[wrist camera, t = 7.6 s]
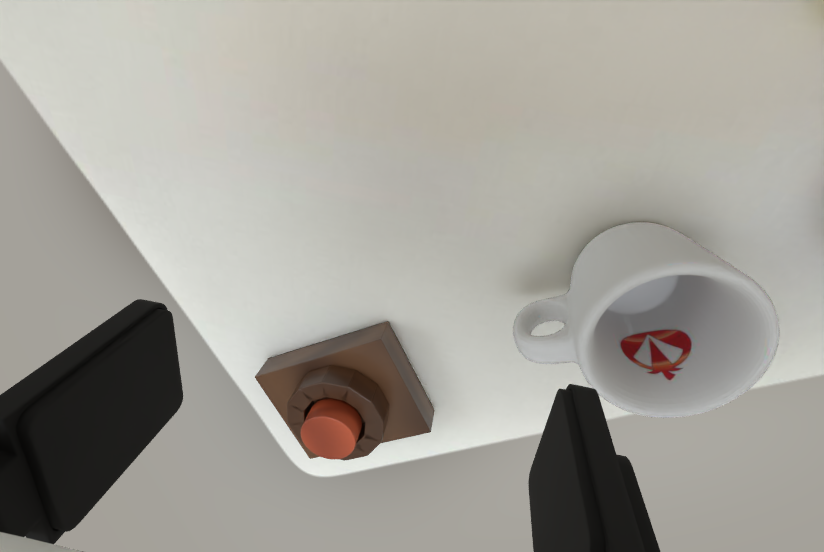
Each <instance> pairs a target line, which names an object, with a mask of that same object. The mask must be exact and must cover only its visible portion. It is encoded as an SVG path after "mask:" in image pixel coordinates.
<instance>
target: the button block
mask: <svg viewBox="0 0 824 552" xmlns="http://www.w3.org/2000/svg"><path fill="white" fill-rule="evenodd" d="M255 378H256V380H257V381H258V383H259V384H260V386H261V387H262V389H263V390H264V392H265V393H266V395H267V396H268V397H269V399H270V400H271V402H272V403H273V405H274V406H275V408H276V409H277V411H278V412H279V414H280V415H281V417H282V418H283V420H284V421H285V423H286V424H287V426H288V427H289V429H290V430H291V431H292V433H293V434H294V436H295V437H296V439H297V440H298V442H299V443H300V445H301V446H302V448H303V449H304V451H305V452H306V454H307V455H308V457H309V458H310V459H311V458H316V457H320V456H318V455H316V454H314V453H313V452H312V451H310V450H309V449H308V448H307V447H306V446H305V444H304V443H303V441H302V438H301V427H302V425H303V423H304V421H305V419H306V417H307V415H308V413H309V411H310V409H311V407H312V406H313V405H314V404H315V403H316V402H318V401H320V400H322V399H327V398H333V399H338V400H342V401H345V402H347V403H348V404H350V405H351V406H353V407H354V408H355V409H356V410H357V411H358V413H359V415H360V417H361V420H362V428H361V431H360V434H359V437H358V440H357V442H356V445H355V448H354V450H353V452H352V453H351V454H350V455H348V456H347V457H344V458H341V460H350V459H354V458H359V457H364V456H367V455H369V454H370V453H371V452H372V451H373V450H374V449H375V448H376V447H377V446H378V445H379V444H380V443H383V442H388V441H392V440H397V439H402V438H406V437H411V436H415V435H420V434H424V433H429V432H431V427H432V421H433V415H434V409H433V407H432V405H431V403H430V401H429V399H428V397H427V395H426V393H425V391H424V389H423V388H422V386H421V384H420V382H419V380H418V378H417V376H416V374H415V372H414V370H413V368H412V366H411V365H410V363H409V361H408V359H407V357H406V355H405V353H404V351H403V349H402V347H401V345H400V343H399V341H398V340H397V338H396V336H395V334H394V332H393V330H392V328H391V326H390V324H389V322H388V321H387V322H384V323H381V324H378V325H374V326H371V327H368V328H365V329H362V330H358V331H355V332H352V333H349V334H346V335H342V336H339V337H336V338H333V339H329V340H326V341H323V342H320V343H317V344H313V345H310V346H307V347H304V348H301V349H297V350H294V351H291V352H288V353H285V354H281V355H278V356H275V357H272V358H269V359H268V360H267V361H266V362H265V364H264V365H263V366H262V368H261V369H260V371H259V372H258V373H257V375H256V376H255Z"/></svg>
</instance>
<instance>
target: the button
mask: <svg viewBox="0 0 824 552" xmlns="http://www.w3.org/2000/svg"><path fill="white" fill-rule="evenodd" d="M361 428H362V420H361V417H360V415H359V413H358V411H357V410H356V409H355V408H354V407H353V406H351V405H350V404H348V403H347V402H345V401H342V400H338V399H333V398H327V399H322V400H320V401H318V402H316V403H315V404H314V405H313V406H312V407H311V409H310V411H309V413H308V415H307V417H306V419H305V421H304V423H303V425H302V427H301V438H302V441H303V443H304V444H305V446H306V447H307V448H308V449H309V450H310V451H312V452H313V453H314V454H316V455H318V456H320V457H323V458H327V459H341V458H344V457H347V456H348V455H350V454H351V453H352V452H353V450H354V448H355V445H356V442H357V440H358V437H359V434H360V431H361Z"/></svg>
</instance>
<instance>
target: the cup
mask: <svg viewBox="0 0 824 552" xmlns="http://www.w3.org/2000/svg"><path fill="white" fill-rule="evenodd" d="M548 321H560V322H563V323H565V326H564V327H563V328H562V329H561V330H559V331H558V332H556V333H554V334H551V335H548V336H532V335H531V332H532V330H533V329H534V328H535V327H536V326H537V325H539V324H541V323H544V322H548ZM513 334H514V339H515V343H516V345H517V348H518V350H519V352H520V353H521V354H522V355H523V356H524V357H525V358H526V359H528V360H530V361H533V362H536V363H542V364H554V363H567V362H574V363H577V364H579V366H580V369H581V371H582V373H583V375H584V377H585V379H586V380H587V382H588V383H589V384H590V386H591V387H592V388H593V389H595V390H597V393H598V394H599V395H600V396H601V397H603V398H604V399H605V400H607V401H608V402H610V403H612V404H613V405H615V406H617V407H619V408H621V409H624V410H626V411H629V412H632V413H635V414H639V415H644V416H650V417H660V418H672V417H685V416H691V415H696V414H700V413H704V412H707V411H710V410H713V409H716V408H718V407H721V406H723V405H725V404H727V403H729V402H731V401H733V400H734V399H736V398H738V397H739V396H741V395H742V394H743V393H745V392H746V391H748V390H749V389H750V388H751V387H752V386H753V385H754V384H755V383H756V382H757V381H758V380H759V379H760V378H761V377H762V376H763V374H764V373H765V372H766V370H767V369H768V367H769V366H770V364H771V362H772V360H773V358H774V356H775V353H776V350H777V347H778V341H779V320H778V316H777V313H776V310H775V307H774V305H773V303H772V301H771V299H770V298H769V297H768V295H767V294H766V292H765V291H764V290H763V289H762V288H761V287H760V286H759V285H758V284H757V283H756V282H755V281H754V280H753V279H751V278H750V277H749V276H747V275H746V274H744V273H743V272H741V271H740V270H738V269H737V268H735V267H733V266H732V265H730V264H729V263H727V262H726V261H724V260H722V259H721V258H719V257H718V256H716V255H715V254H713V253H712V252H710V251H708V250H707V249H705V248H704V247H702V246H701V245H699V244H697V243H696V242H694V241H693V240H691V239H690V238H688V237H686V236H685V235H683V234H681V233H680V232H678V231H676V230H674V229H672V228H669V227H666V226H663V225H660V224H655V223H649V222H633V223H627V224H622V225H618V226H615V227H613V228H610V229H608V230H606V231H604V232H602V233H601V234H599V235H598V236H596V237H595V238H594V239H593V240H591V241H590V242H589V243H588V244H587V245H586V246H585V248H584V249H583V250H582V252H581V253H580V255H579V256H578V258H577V260H576V262H575V265H574V268H573V271H572V276H571V285H570V289H569V291H568V292H567V293H566V294H564V295H562V296H558V297H553V298H548V299H544V300H540V301H536V302H533V303H531V304H529V305H527V306H526V307H524V308H523V309H522V310H521V311H520V312H519V313H518V315H517V316H516V319H515V322H514V326H513Z"/></svg>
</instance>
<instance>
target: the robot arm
mask: <svg viewBox="0 0 824 552" xmlns="http://www.w3.org/2000/svg"><path fill="white" fill-rule="evenodd" d="M182 400H183V391H182V383H181V375H180V368H179V361H178V354H177V346H176V338H175V332H174V323H173V317H172V313H171V312H170V311H168V310H167V308H166V306H165V305H164V304H162V303H157V302H152V301H147V300H141V299H140V300H136V301H134V302H132V303H131V304H130V305H128V306H127V307H125V308H124V309H122V310H121V311H120V312H118V313H117V314H115V315H114V316H112V317H111V318H110V319H108V320H107V321H105V322H104V323H103V324H101V325H100V326H98V327H97V328H95V329H94V330H92V331H91V332H90V333H88V334H87V335H85V336H84V337H83V338H81V339H80V340H78V341H77V342H75V343H74V344H73V345H71V346H70V347H68V348H67V349H65V350H64V351H63V352H61V353H60V354H58V355H57V356H55V357H54V358H53V359H51V360H50V361H48V362H47V363H46V364H44V365H43V366H41V367H40V368H38V369H37V370H35V371H34V372H33V373H31V374H30V375H28V376H27V377H25V378H24V379H23V380H21V381H20V382H19V383H17V384H15V385H14V386H13V387H11V388H10V389H8V390H7V391H6V392H4V393H3V394H1V395H0V552H83V551H79V550H74V549H70V548H66V547H62V546H58V545H54V543H55V542H56V541H57V540H58V539H59V538H60V537H61V535H62V534H63V533H64V532H65V531H70V530H72V529H73V528H75V527H76V526H77V525H78V524H79V523H80V522H81V520H82V519H83V518H84V517H85V516H86V515H87V514H88V512H89V511H90V510H91V509H92V508H93V507H94V505H95V504H96V503H97V502H98V501H99V500H100V499H101V498H102V496H103V495H104V494H105V493H106V492H107V491H108V490H109V488H110V487H111V486H112V485H113V484H114V483H115V482H116V480H117V479H118V478H119V477H120V476H121V475H122V474H123V472H124V471H125V470H126V469H127V468H128V467H129V466H130V464H131V463H132V462H133V461H134V460H135V459H136V458H137V456H138V455H139V454H140V453H141V452H142V451H143V449H144V448H145V447H146V446H147V445H148V444H149V443H150V442H151V440H152V439H153V438H154V437H155V436H156V435H157V433H158V432H159V431H160V430H161V429H162V428H163V427H164V426H165V424H166V423H167V422H168V421H169V420H170V419H171V418H172V416H173V415H174V414H175V413H176V412H177V411H178V409H179V408H180V406H181V403H182ZM529 496H530V510H531V522H532V523H531V524H532V537H533V549H534V552H660V549H659V546H658V543H657V540H656V537H655V534H654V531H653V528H652V525H651V522H650V519H649V516H648V513H647V510H646V507H645V504H644V501H643V498H642V495H641V492H640V489H639V486H638V482H637V479H636V476H635V473H634V470H633V467H632V465H631V463H630V461H629V460H628V458H627V457H626V456H621V455H616V452H615V449H614V446H613V443H612V439H611V436H610V432H609V429H608V426H607V422H606V419H605V416H604V412H603V409H602V406H601V402H600V399H599V395H598V393H597V390H595V389H593V388H588V387H583V386H578V385H573V384H569V385H568V386H567V388H566V390H565V389H559V390H558V392H557V394H556V397H555V400H554V403H553V406H552V409H551V411H550V414H549V417H548V420H547V423H546V426H545V429H544V432H543V435H542V438H541V441H540V444H539V447H538V449H537V452H536V455H535V458H534V461H533V464H532V467H531V471H530V475H529ZM25 536H26V538H25Z"/></svg>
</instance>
